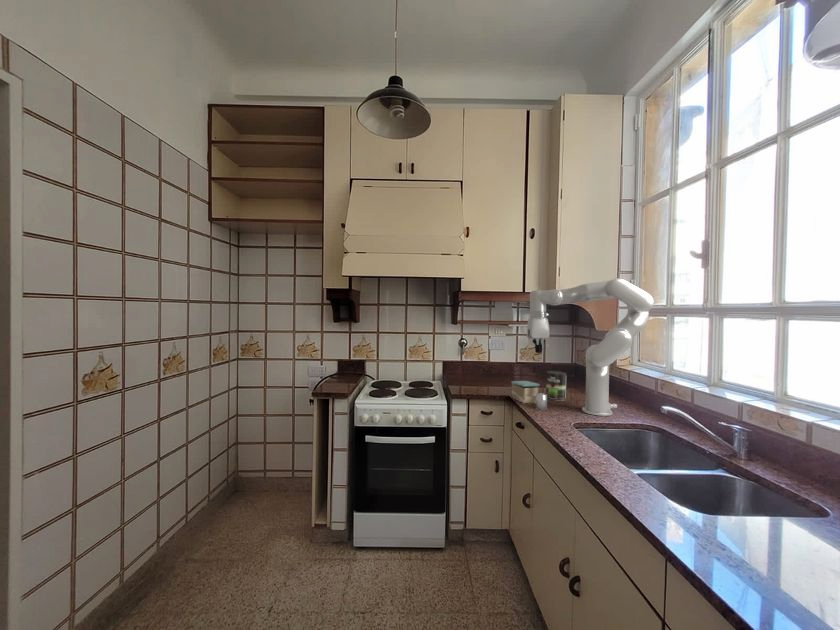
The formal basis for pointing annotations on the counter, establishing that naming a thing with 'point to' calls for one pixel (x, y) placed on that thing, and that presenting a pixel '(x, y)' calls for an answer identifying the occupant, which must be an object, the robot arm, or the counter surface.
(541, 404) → the steel weight
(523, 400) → the box
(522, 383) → the lid
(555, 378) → the glass terrarium
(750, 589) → the counter surface
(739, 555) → the counter surface
